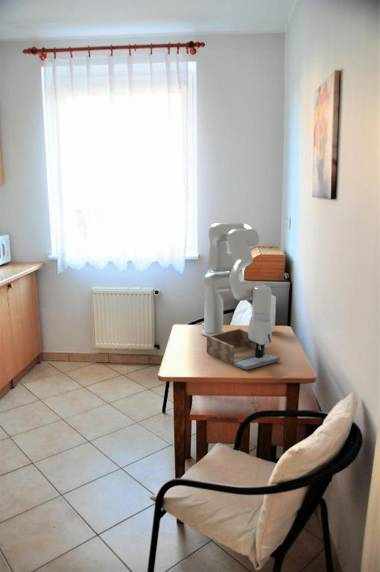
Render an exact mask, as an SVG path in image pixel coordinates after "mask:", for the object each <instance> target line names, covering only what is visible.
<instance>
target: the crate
mask: <svg viewBox="0 0 380 572" xmlns="http://www.w3.org/2000/svg"><path fill="white" fill-rule="evenodd" d="M255 350H256V348H255V347H254V343H253V342H252V341H251V340H250V339H249V338H248V331H246V330H243V329H241V328H238V329H233V330H228V331H227V330H226V332H223V333H218V334H213V335H209V336H206V353H208V354H210V355H212V356H213V357H216V358H218V359H219V360H222V361H224V362H225V363H228V364H230V365H234V363H235V362H239V361H242V360H246V359H250V358H254V357H255ZM265 354H266V348H265V349H264V355H265Z"/></svg>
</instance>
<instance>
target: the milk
mask: <svg viewBox="0 0 380 572" xmlns="http://www.w3.org/2000/svg"><path fill="white" fill-rule="evenodd" d="M276 304H277V296H276V295H274V294H272V293H271V313H270V320H271V327H272V333H274V332H275V330H276Z"/></svg>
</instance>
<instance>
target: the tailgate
mask: <svg viewBox="0 0 380 572" xmlns="http://www.w3.org/2000/svg"><path fill="white" fill-rule="evenodd" d="M280 361H281V357H279V356H276V355H271V354H268V353H265V355H263V357H262V358H259V359H258V358H256V357H254V358H250V359H246V360H242V361H239V362H235V363H234V364H233V365H234V366H235V367H237V368H240V369H243V370H246V371H248V370H252V369H255V368H260V367H263V366H265V365H269V364H274V363H276V362H277V363H278V362H280Z"/></svg>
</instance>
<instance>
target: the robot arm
mask: <svg viewBox="0 0 380 572" xmlns="http://www.w3.org/2000/svg"><path fill="white" fill-rule="evenodd" d="M208 238H209V251H208V260H207V267H208V270H209V271H211V272H210V273H209V272H208V273H207V274H205V275H204V276H203V277H202V287H203V295H204V309H203V310H204V313H203V314H204V316H203V317H204V318H203V320H204V321H203V323H201V327H203V328H202V329H201V331H200V334H201V335H203V336H206V337H207V336H209V335H213V334H218V333H223V332H227V330H225V329H224V299H223V297H222V295H221V294H220V292H226V291H231V292H232V295H233V297H234V298H235V300H237V301H239V302H240V301H241V302H243V301H252V305H251V306H252V308H251V317H250V319H249V324H248V331H247V332H248V338H249V339H250V340H251V341H252V342H253V343H254V347H255V348H256V350H255V357H256V358H258V359H259V358H262V357H263V355H264V349H265V350H266V348H270V347H271V342H272V337H273V332H272V327H271V320H270V313H271V294H272V288H271V287H270V286H268V285H265V283H264V282H262V281H247V282H241V281H240V277H239V272H240V270H242V269H244V268H247V267H248V266H249V265H251V264H252V263H253V261H254V256H253V254H252V251H251V248H256V247H257V246H258V245H259V243H260V235H259V233H258V231H257V229H255V228H254V227H252V226H251V225H249V224H247V223H244V222H218V223H213V224H211V226H209V230H208ZM228 248H229V250H230V251H228Z"/></svg>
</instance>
